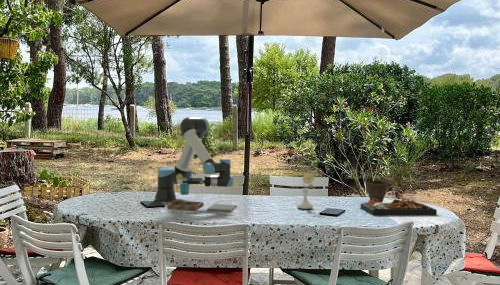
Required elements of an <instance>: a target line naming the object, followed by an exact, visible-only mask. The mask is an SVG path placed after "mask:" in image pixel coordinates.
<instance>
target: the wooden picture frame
mask: <svg viewBox="0 0 500 285" xmlns="http://www.w3.org/2000/svg"><path fill="white" fill-rule="evenodd" d="M203 206H204V202H203V201H195V200H194V201H191V200H178V199H176V200H175V201H171V202H170V203H168V204H167V209H170V210H171V209H172V210H174V209H175V210H188V211H197V210H199V209H200V208H202V207H203Z"/></svg>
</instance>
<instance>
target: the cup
mask: <svg viewBox="0 0 500 285" xmlns="http://www.w3.org/2000/svg"><path fill="white" fill-rule="evenodd" d="M191 174H192V175H195V176H196V175H197V173H195V172H192V173H190V175H189V178H188V179H189V180H190V176H191ZM176 179H177V180H187V179H183V176H182V175H181V174H178V175H177V176H176ZM179 188H180V190H179V191H180V195H181V196H188V195H189V193H190V184H179Z"/></svg>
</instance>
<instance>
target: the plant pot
mask: <svg viewBox="0 0 500 285" xmlns="http://www.w3.org/2000/svg"><path fill="white" fill-rule="evenodd" d="M366 187H367V188H366V189H367V193H368V198H369V201H370V200H372V198H375V199H378V200H380V201H379V202H382V203H384V202H383V201H384V199H385V195H386V192H387V189H388V182H387V181H379V180H371V181H370V180H369V181H366ZM370 195H371V196H370ZM371 197H372V198H371Z"/></svg>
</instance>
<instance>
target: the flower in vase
mask: <svg viewBox="0 0 500 285" xmlns="http://www.w3.org/2000/svg"><path fill="white" fill-rule="evenodd" d="M314 180H315V176H314V175H313V174H312V173H306V174H304V175H303V177H302V181H303V183H304V184H303V186H304V187H303V188H301V190H302V195H303V198H302V200H300V202H298V203H297V204H296V207H297V208H298V209H302V210H311V209H313V207H314V206H313V204H312V203H311V202H310V201H309V200H308V198H307V197H308V192H309V190H310V189H312V188H315V187H314V185H313V184H312V183H313V182H314ZM305 184H307V186H306V185H305Z"/></svg>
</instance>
